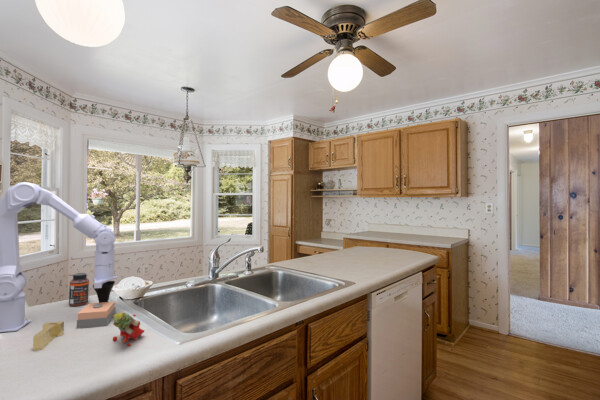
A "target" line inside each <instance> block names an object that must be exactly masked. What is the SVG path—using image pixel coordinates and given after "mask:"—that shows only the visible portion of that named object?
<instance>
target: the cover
mask: <svg viewBox="0 0 600 400" xmlns="http://www.w3.org/2000/svg"><path fill="white" fill-rule="evenodd" d="M115 307H116V301H108V302H101V303H99V302H90V303H89V302H88V303H87V305H85V306H84V307H83V308H82V309H81V310H80V311H79V312H78V313H77V320H83V319H95V318H107V316H108V315H109V314H110V313H111V311H112V310H113V309H114V308H115Z"/></svg>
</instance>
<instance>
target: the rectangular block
mask: <svg viewBox="0 0 600 400" xmlns="http://www.w3.org/2000/svg"><path fill="white" fill-rule="evenodd" d="M64 323H65V321H63V320H62V321H51V322H44V324H42V329H41V330H40V331H38V332H37V333H36V334H35V335H33V337H32V338H33V339H32V341H33V342H32V351H33V352H34V351H42V350H43V349H44V348H45V347H46V346H47V345H48V344H49V343H51V342H52V341H53V340H54V339H55V338H56V337H62V336H63V335H64V332H65V329H64V328H65V326H64V325H65V324H64Z"/></svg>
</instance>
